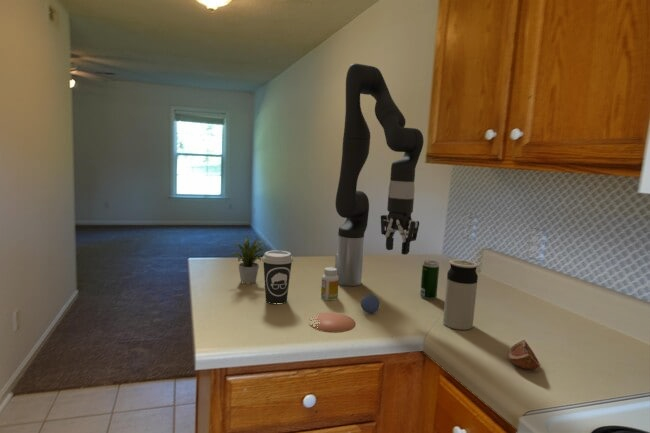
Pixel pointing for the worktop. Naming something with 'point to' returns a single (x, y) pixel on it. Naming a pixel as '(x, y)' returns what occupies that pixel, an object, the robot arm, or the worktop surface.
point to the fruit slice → (523, 355)
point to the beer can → (429, 279)
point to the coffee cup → (277, 275)
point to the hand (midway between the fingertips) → (396, 251)
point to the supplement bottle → (329, 284)
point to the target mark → (334, 322)
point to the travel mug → (460, 294)
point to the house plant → (249, 261)
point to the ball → (370, 303)
